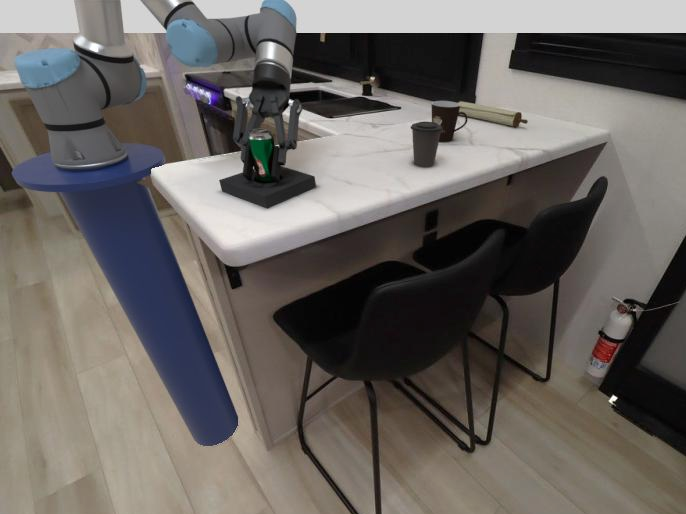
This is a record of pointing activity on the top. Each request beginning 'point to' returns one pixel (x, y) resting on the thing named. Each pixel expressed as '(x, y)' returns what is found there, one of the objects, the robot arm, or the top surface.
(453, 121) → the coffee mug
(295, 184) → the socket pad
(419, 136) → the coffee cup
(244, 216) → the top surface
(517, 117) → the rolling pin
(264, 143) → the soda can
